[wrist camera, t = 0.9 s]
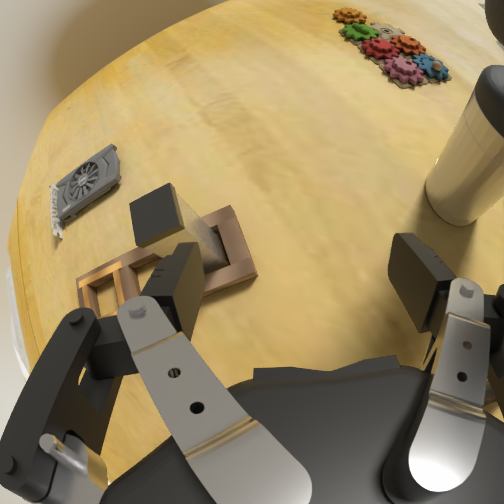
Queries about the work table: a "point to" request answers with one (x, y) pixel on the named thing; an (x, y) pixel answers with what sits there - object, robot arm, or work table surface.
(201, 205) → the work table surface
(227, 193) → the work table surface
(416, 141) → the work table surface
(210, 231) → the peg
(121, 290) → the rail
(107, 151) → the graphics card
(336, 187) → the work table surface
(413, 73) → the gear puzzle
